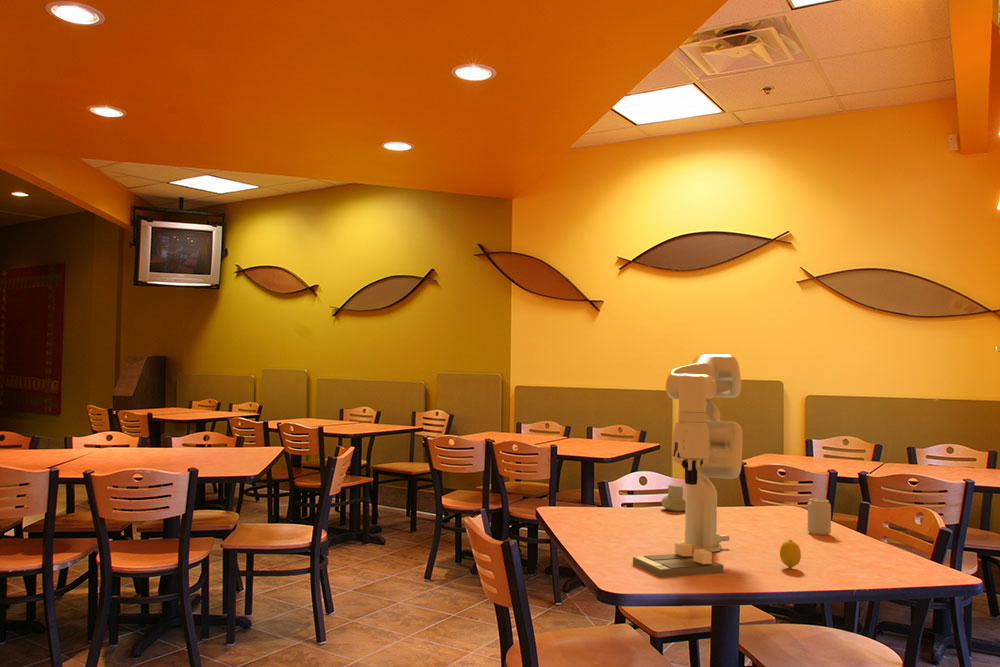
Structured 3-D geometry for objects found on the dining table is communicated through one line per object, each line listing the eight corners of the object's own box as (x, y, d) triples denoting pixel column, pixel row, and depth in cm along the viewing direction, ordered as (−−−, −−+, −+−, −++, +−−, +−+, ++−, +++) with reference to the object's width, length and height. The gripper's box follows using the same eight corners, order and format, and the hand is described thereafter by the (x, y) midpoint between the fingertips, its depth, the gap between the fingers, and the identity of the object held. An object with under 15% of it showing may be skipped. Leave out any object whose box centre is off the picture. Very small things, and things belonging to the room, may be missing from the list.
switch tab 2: (702, 560, 206) (702, 549, 206) (711, 563, 202) (711, 552, 202) (693, 560, 205) (693, 549, 205) (702, 564, 201) (702, 552, 201)
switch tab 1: (683, 552, 214) (684, 541, 215) (692, 555, 211) (692, 545, 211) (674, 553, 213) (675, 542, 213) (683, 556, 210) (683, 545, 210)
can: (827, 537, 255) (827, 501, 256) (804, 533, 260) (805, 499, 260) (833, 533, 261) (833, 499, 262) (810, 530, 266) (810, 496, 266)
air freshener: (665, 512, 295) (665, 486, 295) (659, 508, 303) (659, 483, 304) (692, 512, 296) (692, 487, 296) (685, 508, 304) (685, 484, 304)
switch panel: (692, 560, 216) (693, 552, 216) (723, 572, 203) (723, 564, 203) (632, 564, 209) (633, 556, 209) (660, 577, 196) (660, 568, 196)
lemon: (783, 565, 213) (783, 536, 214) (803, 568, 210) (803, 539, 210) (776, 568, 209) (777, 539, 210) (797, 572, 206) (797, 542, 206)
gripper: (706, 417, 216) (705, 481, 215) (661, 417, 211) (660, 482, 209) (722, 419, 209) (721, 485, 208) (677, 419, 204) (675, 486, 202)
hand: (691, 483), depth 209 cm, fingers closed
